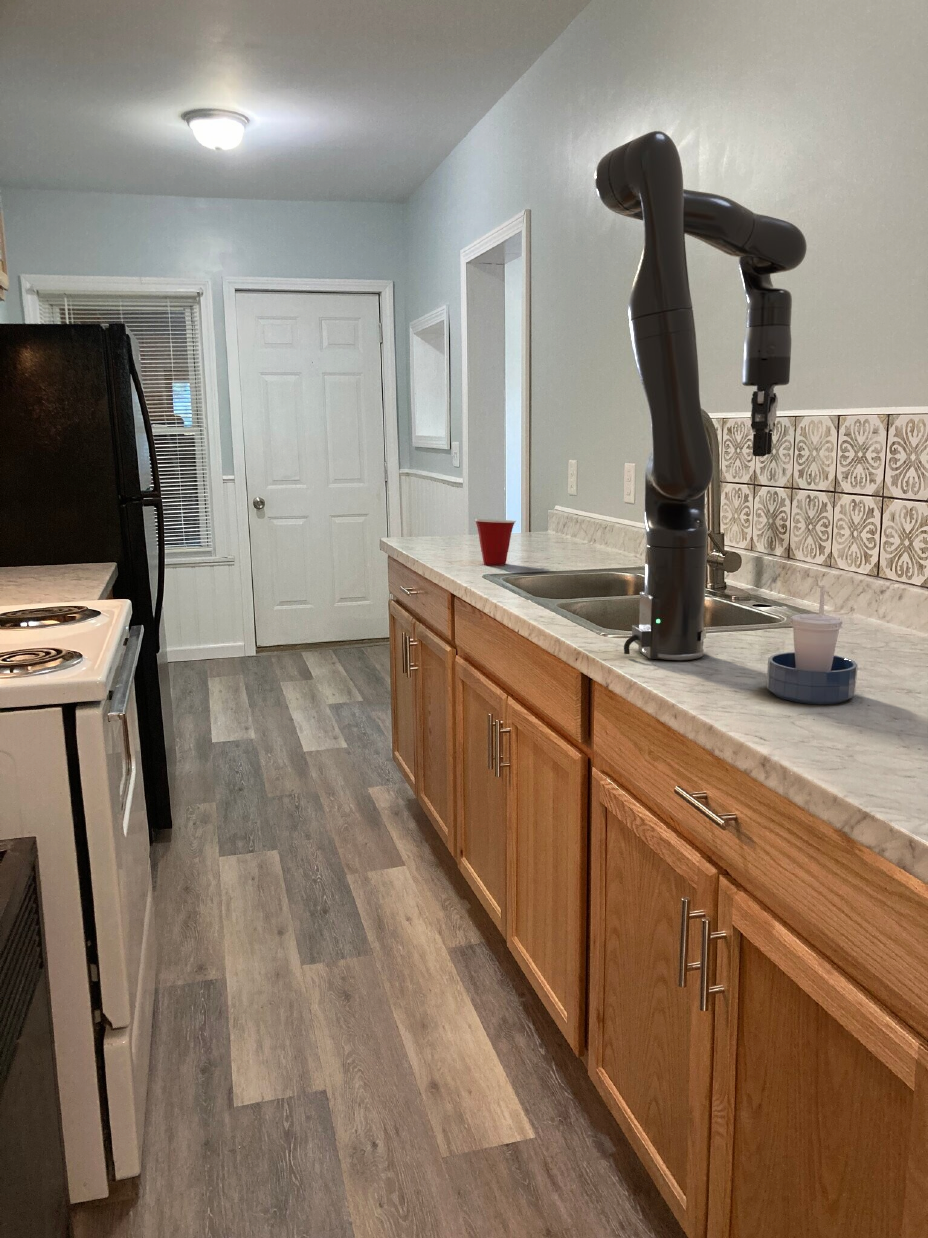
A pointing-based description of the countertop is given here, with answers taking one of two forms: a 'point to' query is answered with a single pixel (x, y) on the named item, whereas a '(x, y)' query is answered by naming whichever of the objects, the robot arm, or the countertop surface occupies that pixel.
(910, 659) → the countertop surface
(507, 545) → the plastic cup
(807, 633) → the smoothie
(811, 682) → the bowl
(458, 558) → the countertop surface
